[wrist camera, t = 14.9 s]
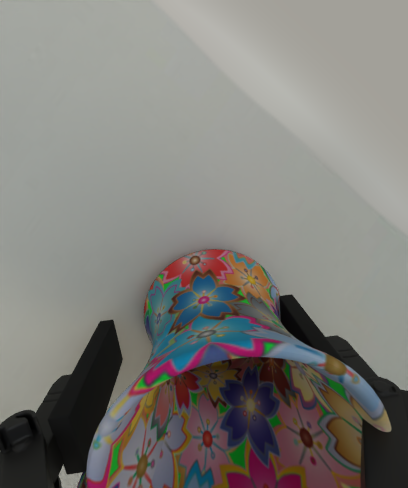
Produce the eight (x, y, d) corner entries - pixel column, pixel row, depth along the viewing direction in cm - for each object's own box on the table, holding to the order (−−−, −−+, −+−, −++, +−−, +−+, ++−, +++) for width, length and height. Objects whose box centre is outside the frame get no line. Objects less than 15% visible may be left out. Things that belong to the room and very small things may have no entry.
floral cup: (235, 208, 17) (311, 280, 7) (306, 322, 20) (438, 497, 9) (75, 313, 18) (-62, 506, 8) (160, 408, 21) (138, 646, 11)
